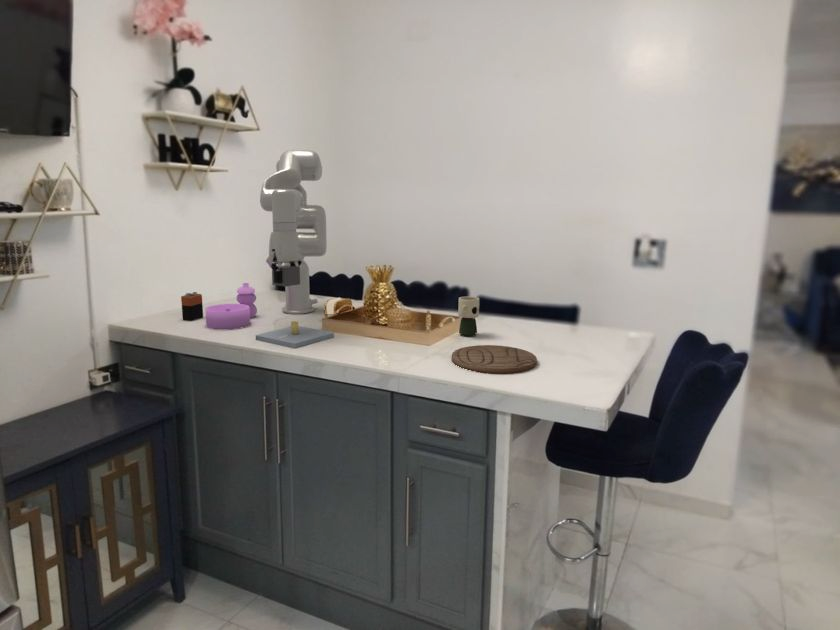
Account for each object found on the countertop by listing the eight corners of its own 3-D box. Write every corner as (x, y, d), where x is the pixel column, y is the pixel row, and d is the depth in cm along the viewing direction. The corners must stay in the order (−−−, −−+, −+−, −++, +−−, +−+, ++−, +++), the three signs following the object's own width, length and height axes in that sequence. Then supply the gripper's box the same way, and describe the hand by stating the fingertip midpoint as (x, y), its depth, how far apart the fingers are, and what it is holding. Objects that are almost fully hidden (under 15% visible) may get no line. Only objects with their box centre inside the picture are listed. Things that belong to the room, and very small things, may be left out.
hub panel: (295, 329, 215) (295, 314, 213) (333, 337, 205) (333, 321, 204) (255, 339, 200) (255, 323, 199) (294, 348, 190) (294, 331, 189)
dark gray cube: (286, 282, 207) (286, 264, 206) (300, 284, 204) (299, 265, 203) (272, 284, 202) (271, 266, 201) (285, 286, 199) (285, 267, 197)
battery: (182, 320, 227) (180, 293, 225) (194, 316, 233) (193, 290, 231) (191, 321, 225) (189, 294, 223) (203, 317, 232) (202, 291, 229)
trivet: (527, 351, 192) (527, 345, 191) (545, 375, 167) (545, 368, 167) (448, 350, 191) (448, 344, 191) (455, 375, 167) (455, 368, 166)
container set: (236, 331, 212) (234, 293, 209) (197, 328, 215) (195, 291, 212) (269, 316, 235) (268, 282, 233) (234, 314, 239) (232, 281, 236)
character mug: (471, 339, 204) (472, 301, 201) (452, 337, 207) (453, 299, 204) (483, 333, 213) (484, 296, 210) (464, 330, 216) (465, 294, 213)
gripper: (296, 226, 208) (297, 278, 212) (256, 228, 194) (258, 283, 198) (311, 227, 204) (312, 280, 208) (272, 229, 190) (274, 285, 194)
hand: (286, 281), depth 203 cm, fingers closed on dark gray cube, 6 cm apart
